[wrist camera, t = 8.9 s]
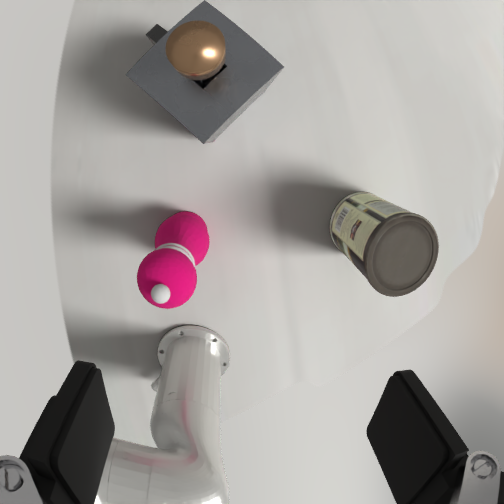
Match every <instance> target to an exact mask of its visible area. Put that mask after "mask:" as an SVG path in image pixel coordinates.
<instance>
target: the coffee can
mask: <svg viewBox="0 0 504 504" xmlns="http://www.w3.org/2000/svg"><path fill="white" fill-rule="evenodd" d="M330 234H331V238H332V240H333V242H334V244H335V245H336V247H337V248H338V249H339V250H340V251H342V252H343V253H344V254H345V255H346V256H347V258H348V259H349V260H350V261H351V262H352V263H353V264H354V265H355V266H356V267H357V268H358V269H359V270H360V272H361V273H362V274H363V275H364V276H365V277H366V278H367V279H368V281H369V283H370V284H371V285H372V287H373V288H374V289H375V290H376V291H378V292H379V293H381V294H383V295H386V296H392V297H395V296H402V295H405V294H408V293H410V292H412V291H414V290H416V289H417V288H418V287H420V286H421V285H422V284H423V283H424V282H425V281H426V279H427V278H428V277H429V275H430V274H431V272H432V270H433V269H434V266H435V264H436V261H437V257H438V248H439V245H438V237H437V234H436V231H435V229H434V227H433V226H432V224H431V223H430V222H429V221H428V220H427V219H425V218H424V217H422V216H420V215H418V214H415V213H411V212H409V211H407V210H405V209H403V208H401V207H399V206H396V205H394V204H392V203H390V202H388V201H386V200H383V199H381V198H379V197H377V196H375V195H373V194H371V193H367V192H358V193H353V194H351V195H349V196H347V197H345V198H344V199H343V200H342V201H340V203H339V204H338V205H337V206H336V208H335V209H334V211H333V214H332V216H331V220H330Z"/></svg>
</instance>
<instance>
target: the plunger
mask: <svg viewBox="0 0 504 504" xmlns="http://www.w3.org/2000/svg"><path fill="white" fill-rule="evenodd" d="M166 55H167V58H168V60H169V62H170V63H171V64H172V65H173V67H174V68H175V69H176V70H177V72H178V73H179V74H180V75H182V76H183V77H185V78H187V79H191V80H193V81H194V82H195V83H196V84H197V85H199V86H200V87H201V88H202V89H204V88H205V87H206V86H207V85H208V84H209V83H210V82H211V81H212V80H213V79H214V78H215V77H216V76H217V75H219V74H220V73H221V72H222V71H223V70H224V69H225V68H226V67H225V66H224V65H223V64H224V62H225V57H226V52H225V39H224V36H223V34H222V32H221V31H220V29H219V28H217V27H216V26H215V25H213V24H211V23H209V22H206V21H190V22H187V23H184V24H182V25H180V26H179V27H177V28H176V29H175V30H174V31H173V32H172V33H171V34H170V36H169V37H168V40H167V42H166Z"/></svg>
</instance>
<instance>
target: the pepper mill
mask: <svg viewBox="0 0 504 504" xmlns="http://www.w3.org/2000/svg"><path fill="white" fill-rule="evenodd" d="M155 248H156V249H155V250H154V251H153V252H151V253H149V254H148V255H147V256H146V257H145V258H144V259H143V261H142V262H141V264H140V266H139V269H138V273H137V283H138V287H139V290H140V292H141V294H142V295H143V297H144V298H145V299H146V300H147V301H148V302H150V303H151V304H152V305H155V306H157V307H160V308H167V309H169V308H174V307H178V306H180V305H182V304H184V303H185V302H186V301H188V300H189V298H190V297H191V296H192V294H193V293H194V290H195V288H196V283H197V275H196V270H195V266H196V265H198V264H199V263H200V262H201V261H202V260H203V259H204V257H205V256H206V254H207V251H208V248H209V235H208V232H207V227H206V224H205V222H204V221H203V219H202V218H201V217H200V216H198V215H197V214H195V213H192V212H188V211H183V212H179V213H176V214H174V215H173V216H172V217H169V218H168V219H166V220H165V221H164V222H163V223H162V224H161V225H160V227H159V228H158V231H157V233H156V236H155Z"/></svg>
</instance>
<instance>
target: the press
mask: <svg viewBox="0 0 504 504" xmlns="http://www.w3.org/2000/svg"><path fill="white" fill-rule="evenodd" d="M190 21H206V22H209V23H211V24H213V25H215V26H216V27H217V28H219V29H220V31H221V32H222V34H223V36H224V39H225V52H226V57H225V62H224V64H223V65H224V66H225V67H226V68H225V69H224V70H223V71H222V72H221V73H220V74H219V75H217V76H216V77H215V78H214V79H213V80H212V81H211V82H210V83H209V84H208V85H207V86H206V87H205V88H204V89H202V88H201V87H200V86H199V85H197V84H196V83H195V82H194V81H193V80H191V79H187V78H185V77H183V76H182V75H180V74H179V73H178V72H177V70H176V69H175V68H174V67H173V65H172V64H171V63H170V62H169V60H168V58H167V55H166V42H167V40H168V37H169V36H170V34H171V33H172V32H173V31H174V30H175V29H176V28H177V27H179V26H180V25H182V24H184V23H187V22H190ZM146 36H147V37H148V38H149V39H150V40H151V41H152V43H153V44H154V46H153V47H152V48H151V49H150V50H149V51H148V52H147V53H146V54H145V55H144V56H143V57H142V58H141V59H140V60H139V61H138V62H137V63H136V64H135V65H134V66H133V68H132V69H131V70H130V71H129V72H128V73H127V74H126V76H128V77H129V78H130V79H131V80H132V81H133V82H135V83H136V84H137V85H138V86H139V87H140V88H142V89H143V90H144V91H145V92H146V93H147V94H148V95H150V96H151V97H152V98H153V99H154V100H155V101H156V102H158V103H159V104H160V105H161V106H162V107H163V108H164V109H166V110H167V111H168V112H169V113H170V114H171V115H172V116H173V117H175V118H176V119H177V120H178V121H179V122H180V123H181V124H182V125H183V126H185V127H186V128H187V129H188V130H189V131H190V132H191V133H192V134H193V135H194V136H196V137H197V138H198V139H199V140H200V141H201V142H202V143H203V144H205V143H210V142H213V141H214V140H215V139H216V138H217V137H218V136H219V135H220V134H221V133H222V132H223V131H224V130H225V129H226V128H227V127H228V126H229V125H230V124H231V123H232V122H233V121H234V120H235V119H236V118H237V117H238V116H239V115H240V114H241V113H242V112H243V111H244V110H246V109H247V108H248V107H249V106H250V105H251V104H252V103H253V102H254V101H255V100H256V99H257V98H258V97H259V96H260V95H261V94H263V93H264V92H265V90H266V89H267V88H268V87H269V85H270V84H271V83H272V82H273V80H274V79H275V78H276V77H277V75H278V74H279V73H280V72H281V70H282V69H283V68H284V66H282V65H281V64H280V63H279V62H278V61H277V60H276V59H275V58H274V57H273V56H272V55H271V54H270V53H268V52H267V51H266V50H265V49H264V48H263V47H262V46H261V45H259V44H258V43H257V42H256V41H255V40H254V39H253V38H251V37H250V36H249V35H248V34H247V33H246V32H244V31H243V30H242V29H241V28H240V27H238V26H237V25H236V24H235V23H233V22H232V21H231V20H230V19H228V18H227V17H226V16H225V15H223V14H222V13H221V12H220V11H218V10H217V9H216V8H214V7H213V6H212V5H210V4H209V3H208V2H206V1H205V0H204V1H203V2H202V3H201V4H199V5H198V6H197V7H196V8H194V9H193V10H192V11H191V12H190V13H189V14H187V15H186V16H185V17H184V18H183V19H182V20H181V21H179V22H178V23H177V24H176V25H175V26H174V27H173V28H172V29H171V30H170V31H168V32H167V31H166V30H165V29H163V28H162V27H161V26H159V25H158V24H157V25H155V26H154V27H153V28H152V29H151V30H150V31H149V32H148V33H147V34H146Z"/></svg>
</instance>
